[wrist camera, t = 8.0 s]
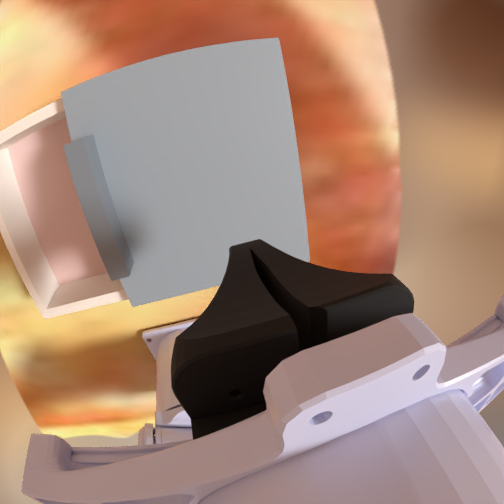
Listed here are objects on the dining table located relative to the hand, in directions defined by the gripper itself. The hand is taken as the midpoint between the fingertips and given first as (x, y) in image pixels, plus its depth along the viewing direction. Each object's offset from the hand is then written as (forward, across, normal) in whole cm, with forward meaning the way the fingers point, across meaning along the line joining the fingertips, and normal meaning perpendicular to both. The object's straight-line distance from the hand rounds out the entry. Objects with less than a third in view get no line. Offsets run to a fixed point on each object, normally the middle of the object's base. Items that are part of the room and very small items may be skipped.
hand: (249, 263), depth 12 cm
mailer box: (+10, +10, -3) cm, 15 cm away
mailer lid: (+6, +2, -3) cm, 7 cm away
